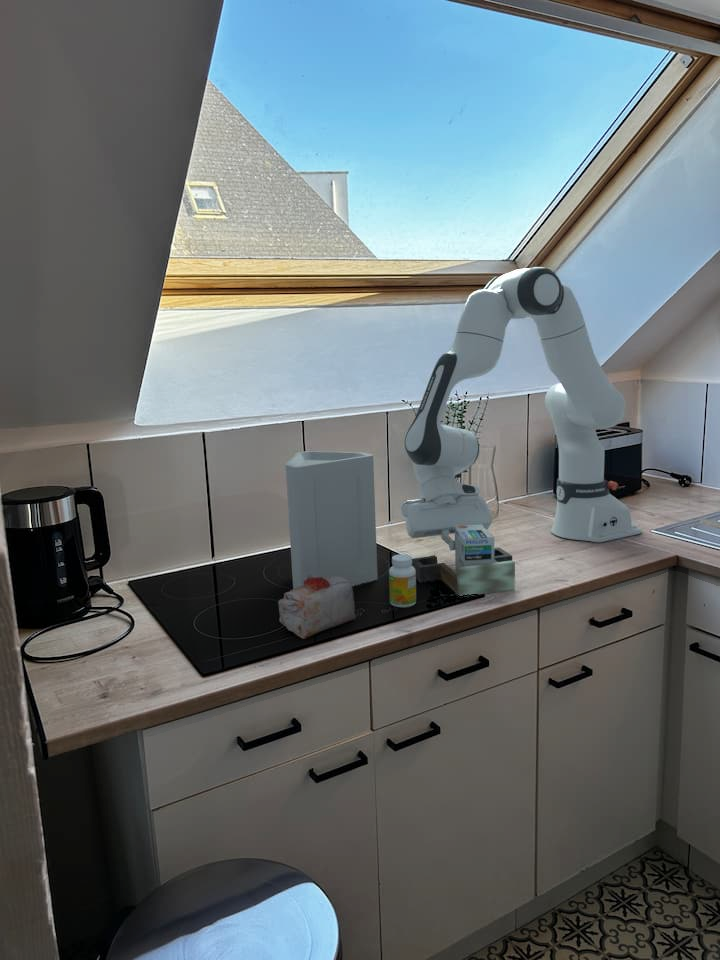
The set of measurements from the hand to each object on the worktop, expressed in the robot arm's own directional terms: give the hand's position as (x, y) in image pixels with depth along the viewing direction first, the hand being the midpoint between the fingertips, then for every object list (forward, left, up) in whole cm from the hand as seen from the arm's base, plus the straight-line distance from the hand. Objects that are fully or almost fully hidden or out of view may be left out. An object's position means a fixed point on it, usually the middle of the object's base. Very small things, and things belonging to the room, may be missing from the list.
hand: (457, 548), depth 163 cm
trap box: (0, +6, -5) cm, 8 cm away
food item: (+36, +20, -5) cm, 42 cm away
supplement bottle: (+18, +14, -5) cm, 24 cm away
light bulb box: (-1, +6, -5) cm, 8 cm away
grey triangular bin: (+30, -5, -5) cm, 31 cm away
